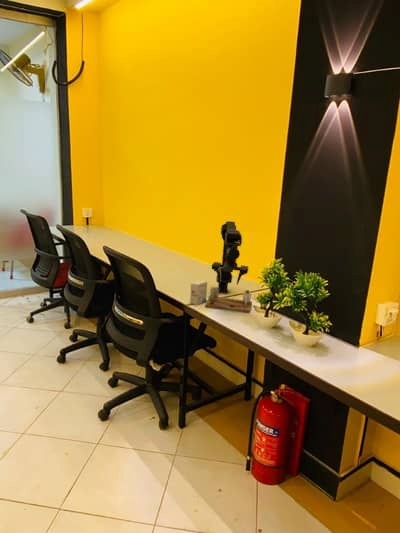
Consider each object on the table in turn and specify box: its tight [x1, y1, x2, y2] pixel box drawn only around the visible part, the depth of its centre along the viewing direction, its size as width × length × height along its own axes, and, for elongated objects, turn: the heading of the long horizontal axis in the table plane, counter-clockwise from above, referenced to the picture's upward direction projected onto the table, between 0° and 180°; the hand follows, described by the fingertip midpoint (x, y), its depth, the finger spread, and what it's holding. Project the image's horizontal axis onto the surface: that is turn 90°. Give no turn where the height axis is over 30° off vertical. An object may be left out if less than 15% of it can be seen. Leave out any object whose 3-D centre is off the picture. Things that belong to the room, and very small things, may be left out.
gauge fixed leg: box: [209, 286, 219, 303], centre depth 215 cm, size 9×4×6 cm, turn 168°
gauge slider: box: [242, 289, 252, 307], centre depth 212 cm, size 9×4×7 cm, turn 168°
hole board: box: [204, 295, 253, 314], centre depth 214 cm, size 13×24×3 cm, turn 78°
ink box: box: [189, 279, 208, 306], centre depth 214 cm, size 9×5×12 cm, turn 141°
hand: (228, 283), depth 208 cm, fingers open, 9 cm apart
